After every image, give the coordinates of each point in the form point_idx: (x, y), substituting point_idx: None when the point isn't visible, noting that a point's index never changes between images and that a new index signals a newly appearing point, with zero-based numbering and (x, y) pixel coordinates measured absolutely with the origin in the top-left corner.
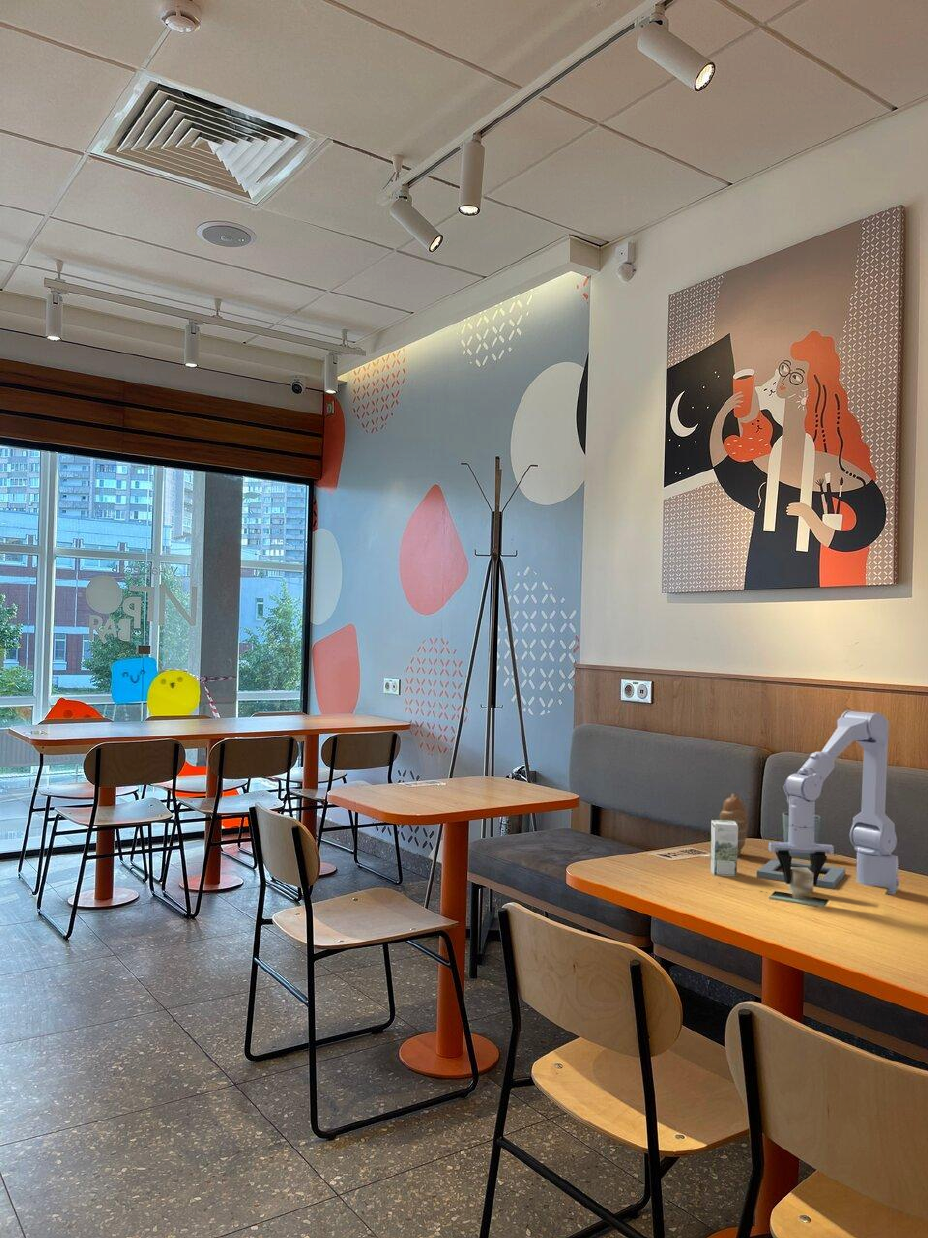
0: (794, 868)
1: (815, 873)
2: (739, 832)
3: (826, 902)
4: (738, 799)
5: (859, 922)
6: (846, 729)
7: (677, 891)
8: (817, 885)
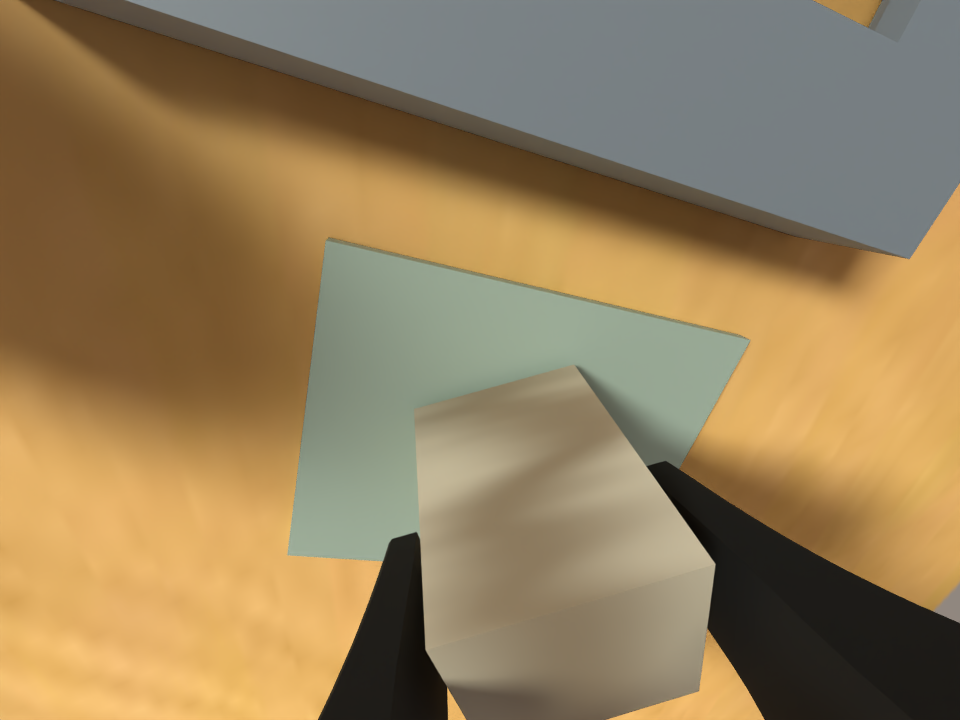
0: (514, 661)
1: (730, 653)
2: None
3: None
4: None
5: (708, 678)
6: None
7: None
8: (733, 207)
